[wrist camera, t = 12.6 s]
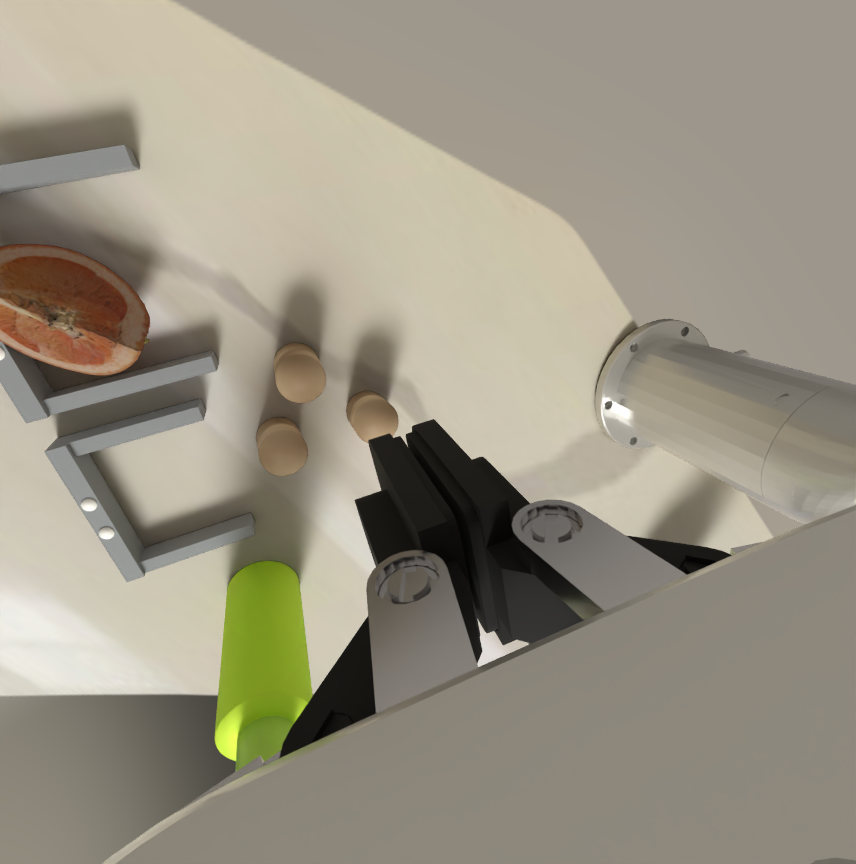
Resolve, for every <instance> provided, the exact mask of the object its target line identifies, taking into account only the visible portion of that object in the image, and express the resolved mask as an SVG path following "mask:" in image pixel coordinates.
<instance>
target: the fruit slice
mask: <svg viewBox="0 0 856 864" xmlns="http://www.w3.org/2000/svg"><path fill="white" fill-rule="evenodd" d="M149 326H150V317H149V314H148V312H147V310H146V307H145V305H144V303H143V302H142V301H141V299H140V298H139V296H138V295H137V293H136V292H135V291H134V290H133V289H132V288H131V287H130V286H129V285H128V284H127V283H126V282H125V281H124V280H123V279H122V278H120V277H119V276H118V275H117V274H115V273H114V272H113V271H111V270H110V269H109V268H107V267H106V266H104V265H102V264H101V263H99V262H97V261H95V260H93V259H91V258H89V257H87V256H85V255H83V254H81V253H78V252H75V251H73V250H69V249H65V248H61V247H56V246H50V245H39V244H16V245H8V246H3V247H0V341H1V342H3V343H4V344H6V345H8V346H10V347H11V348H13V349H15V350H17V351H19V352H21V353H23V354H25V355H27V356H29V357H32V358H34V359H37V360H39V361H42V362H45V363H48V364H51V365H54V366H57V367H60V368H64V369H67V370H71V371H76V372H81V373H84V374H91V375H111V374H115V373H119V372H121V371H123V370H125V369H127V368H128V367H130V366H131V365H132V364H134V362H135V361H137V359H138V358H139V356H140V354H141V351H142V350H143V347H144V344H145V343H149V340H148V339H146V336H147V334H148V330H149Z"/></svg>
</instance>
